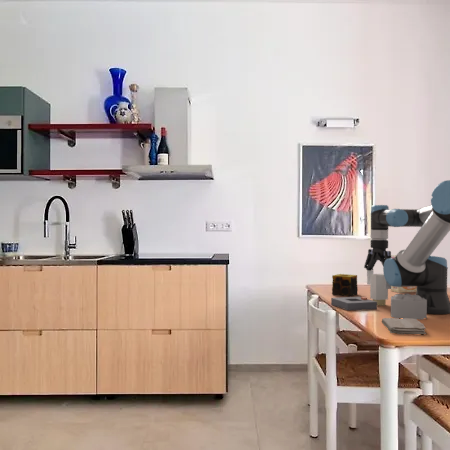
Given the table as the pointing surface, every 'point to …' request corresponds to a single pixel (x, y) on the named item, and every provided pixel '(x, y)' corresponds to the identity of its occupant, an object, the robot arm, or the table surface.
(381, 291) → the plug
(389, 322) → the washcloth
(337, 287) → the candle
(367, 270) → the robot arm
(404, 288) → the coffeecake box
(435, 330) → the table surface
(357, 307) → the socket
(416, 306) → the lumpy-topped squat cylinder
